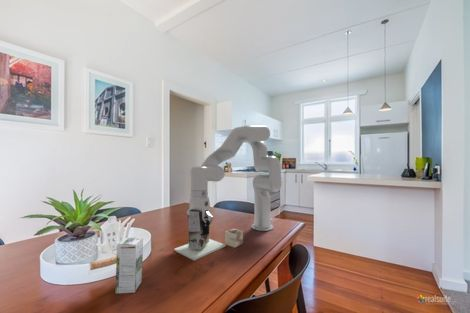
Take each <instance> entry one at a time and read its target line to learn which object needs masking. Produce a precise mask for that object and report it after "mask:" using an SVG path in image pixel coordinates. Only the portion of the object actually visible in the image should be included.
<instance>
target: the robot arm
mask: <svg viewBox="0 0 470 313" xmlns="http://www.w3.org/2000/svg"><path fill="white" fill-rule="evenodd" d="M270 137H271V130H270V128H269V127H268V126H267V125H244V126H243V125H242V126H238V127H235V128H233V129H232V130H231V131H230V133H229V135H228V136H227V137H226V139H225V140H224V141H223V142H222V144H221V146H219V148H217V149H216V150H214V151H213V152H212V153H211V154H209V155H208V156H207V157H206V159H205V160H204V161H203V163H202V164H201V165H198V166H195V165H194V166H192V167H191V168H190V197H189V206H188V210H186V216H187V218H188V219H189V211H190V210H198V211H202V220H203V225H204V226H203V236H205V235H208V234H209V235H210V225H211V223H212V221H213V219H214V216H213V215H212V214H211V203H210V198H209V196H208V195H209V194H208V193H209V192H208V191H209V190H208V189H209V188H208V187H209V185H208V182H213V183H217V182H220V181H222V180H223V179H224V178H225V177H226V175H225V174H226V173H225V170H224V168H223V167H222V166H219V165H221V164H222V163H223V162H227V161H228V160H230V159H232V158H234V157H235V156H236V154H237V153H238V151H239V150H240V148H241V147H242V145H243V144H244V143H248V144H249V145H250V147H251V149H252V154H253V155H252V157H253V168H254V170H255V171H256V172H259V173H260V174H257V175H255V176H253V179H252V187H253V194H254V196H253V197H254V198H253V199H254V200H253V201H254V214H253V216H254V221H253V222H254V223H252V224H251V228H252V229H253V230H255V231H260V232H266V231H267V232H268V231H272V230H273V229H274V225H273V224H272V222H274V218H271V217H272V216H271V207H272V206H271V200H272V199H271V195H270V193H271V192H272V193H273V192H274V193H277V192H279V191H280V190H281V188H282V169H281V162H280V160H279V158H278V157H277V156H274V155H269V154H268V147H267V145H266V143H265V142H266V141H268V140H269V139H270ZM264 173H265V174H264ZM266 173H268V174H266ZM204 217H205V219H204ZM205 220H206V223H205Z"/></svg>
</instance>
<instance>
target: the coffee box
mask: <svg viewBox="0 0 470 313" xmlns="http://www.w3.org/2000/svg"><path fill="white" fill-rule="evenodd" d="M204 219H205V217H204ZM205 223H206V220H205ZM203 226H204V225H203V220H202V211H198V210H190V211H189V218H188V243H189V245H188V248H193V249H202V248H203V247H204V246H205V245H206V244H207V243H208V242H209V239H210V233H209V234H208V235H205V236H203Z"/></svg>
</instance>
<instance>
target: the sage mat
mask: <svg viewBox="0 0 470 313" xmlns="http://www.w3.org/2000/svg"><path fill="white" fill-rule="evenodd" d="M188 245H189V242H188V243H187V244H184V245H180V246H178V247H175V248H174V249H173V251H174V252H176V253H178V254H180V255H182V256H184V257H187V259H189V260H192V261H197V260H199V259H201V258H204V257H205V256H207V255H209V254H211V253H213V252H216V251H218V250H219V251H220V250H221V249H223V248H225V247H226V244H225V243H222V242H219V241H216V240H214V239H211V238H209V242H208V243H207V244H206V245H205V246H204V247H203V248H202V249H193V248H188Z"/></svg>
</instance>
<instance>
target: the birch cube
mask: <svg viewBox="0 0 470 313" xmlns="http://www.w3.org/2000/svg"><path fill="white" fill-rule="evenodd" d="M224 233H225V234H224V235H225V237H224V238H225V240H224V241H225V242H224V244H225V246H229V247H231V248H235V249H236V248H237V247H240V246H241V245H243V244H244V230H239V229H237V228H231V229H229V230H226V231H224Z"/></svg>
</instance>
